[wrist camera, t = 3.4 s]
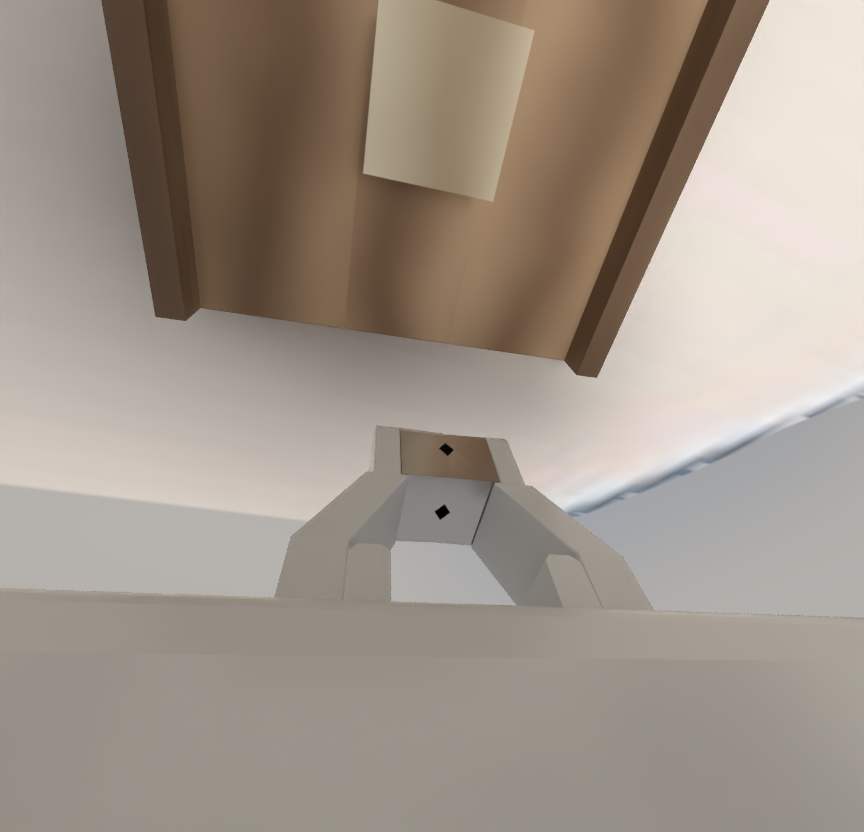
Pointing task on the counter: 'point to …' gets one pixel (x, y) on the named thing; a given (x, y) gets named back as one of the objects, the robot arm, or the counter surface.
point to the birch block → (443, 95)
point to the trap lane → (407, 203)
